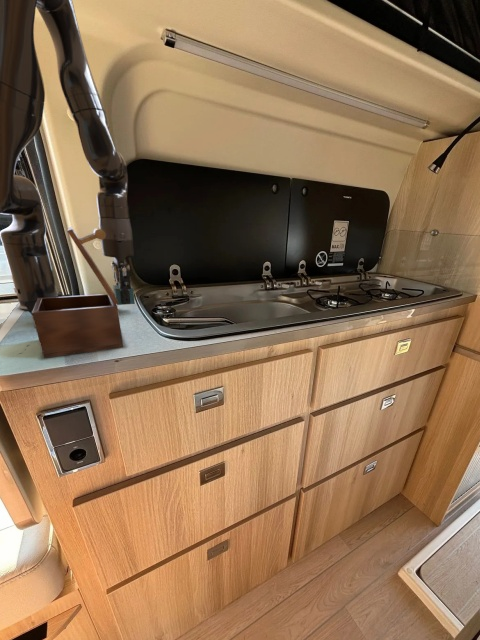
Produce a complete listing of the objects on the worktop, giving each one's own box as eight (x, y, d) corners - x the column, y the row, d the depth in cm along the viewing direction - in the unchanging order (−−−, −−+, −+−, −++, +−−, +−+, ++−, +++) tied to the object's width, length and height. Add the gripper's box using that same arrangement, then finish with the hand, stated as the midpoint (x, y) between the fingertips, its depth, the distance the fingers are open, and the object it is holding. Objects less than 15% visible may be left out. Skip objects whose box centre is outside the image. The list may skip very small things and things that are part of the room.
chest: (44, 358, 54) (31, 313, 51) (48, 337, 63) (37, 298, 60) (123, 347, 61) (117, 306, 57) (116, 329, 70) (111, 293, 66)
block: (114, 301, 83) (112, 285, 81) (131, 300, 85) (130, 284, 83) (117, 305, 79) (115, 288, 78) (134, 303, 82) (133, 288, 80)
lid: (67, 231, 49) (98, 219, 51) (67, 228, 58) (94, 218, 60) (114, 304, 57) (140, 292, 59) (109, 292, 66) (131, 282, 68)
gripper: (98, 234, 79) (107, 296, 86) (103, 238, 68) (113, 309, 75) (127, 235, 83) (134, 295, 89) (137, 240, 72) (143, 307, 79)
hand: (124, 301), depth 82 cm, fingers closed on block, 4 cm apart
